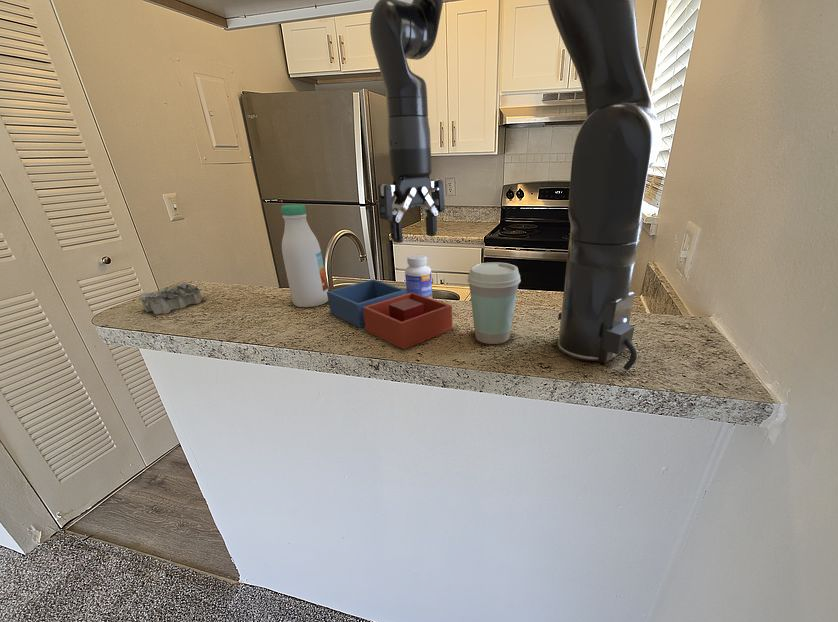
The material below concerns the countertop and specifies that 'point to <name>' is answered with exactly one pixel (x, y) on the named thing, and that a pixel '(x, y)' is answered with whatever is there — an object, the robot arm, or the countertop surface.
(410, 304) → the red block
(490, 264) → the coffee cup
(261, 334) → the countertop surface
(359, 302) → the blue bin
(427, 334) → the red bin
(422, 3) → the robot arm
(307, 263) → the milk bottle
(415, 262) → the pill bottle
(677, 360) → the countertop surface
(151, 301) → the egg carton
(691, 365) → the countertop surface
